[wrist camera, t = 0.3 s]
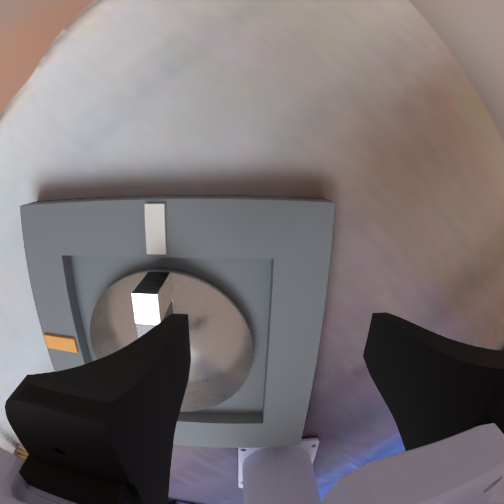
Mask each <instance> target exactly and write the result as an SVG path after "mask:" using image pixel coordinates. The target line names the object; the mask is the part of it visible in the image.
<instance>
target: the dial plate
mask: <svg viewBox="0 0 504 504" xmlns="http://www.w3.org/2000/svg"><path fill="white" fill-rule="evenodd" d="M20 211H21V222H22V231H23V240H24V247H25V254H26V260H27V266H28V272H29V278H30V283H31V288H32V292H33V297H34V301H35V306H36V310H37V314H38V318H39V321H40V325H41V329H42V332H43V336H44V339H45V343H46V346H47V349H48V352H49V355H50V358H51V361H52V364H53V367H54V370H55V372H56V371H61V370H65V369H70V368H74V367H77V366H81V365H84V364H87V363H90V362H92V361H95V360H97V359H96V357H95V354H94V351H93V348H92V345H91V339H90V321H91V316H92V313H93V310H94V308H95V305H96V303H97V302H98V300H99V299H100V297H101V296H102V294H103V293H104V292H105V291H106V290H107V289H108V288H109V287H110V286H111V285H112V284H113V283H114V282H116V281H117V280H119V279H120V278H121V277H123V276H125V275H127V274H129V273H132V272H135V271H138V270H141V269H147V268H158V267H165V268H175V269H180V270H184V271H188V272H191V273H194V274H197V275H199V276H201V277H203V278H205V279H207V280H209V281H211V282H212V283H214V284H215V285H217V286H219V287H220V288H221V289H222V290H223V291H225V292H226V293H227V294H228V295H229V296H230V297H231V298H232V299H233V300H234V301H235V302H236V303H237V305H238V306H239V308H240V309H241V310H242V312H243V314H244V316H245V317H246V319H247V322H248V324H249V327H250V330H251V335H252V340H253V363H252V367H251V371H250V373H249V375H248V378H247V380H246V381H245V383H244V384H243V386H242V387H241V388H240V389H239V390H238V391H237V392H236V393H235V394H234V395H233V396H232V397H230V398H229V399H228V400H226V401H224V402H222V403H221V404H218V405H216V406H214V407H211V408H207V409H204V410H199V411H190V412H180V413H179V416H178V420H177V424H176V429H175V433H174V441H173V445H183V446H197V447H219V448H260V447H282V446H296V445H300V443H301V439H302V434H303V430H304V425H305V420H306V415H307V411H308V406H309V401H310V395H311V390H312V385H313V379H314V374H315V368H316V362H317V356H318V350H319V344H320V337H321V330H322V323H323V316H324V309H325V301H326V293H327V285H328V277H329V267H330V258H331V248H332V237H333V225H334V212H335V203H334V202H332V201H329V200H327V199H320V198H299V197H273V196H230V195H167V196H125V197H100V198H81V199H64V200H50V201H37V202H33V203H29V204H25V205H22V206H20Z"/></svg>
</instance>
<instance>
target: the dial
mask: <svg viewBox="0 0 504 504" xmlns="http://www.w3.org/2000/svg"><path fill="white" fill-rule="evenodd" d="M172 313H174V314H188V321H189V337H190V351H191V364H190V372H189V379H188V383H187V387H186V391H185V395H184V398H183V402H182V405H181V409H180V412H190V411H199V410H204V409H207V408H211V407H214V406H216V405H218V404H221V403H222V402H224V401H226V400H228V399H229V398H230V397H232V396H233V395H234V394H235V393H236V392H237V391H238V390H239V389H240V388H241V387H242V386H243V384H244V383H245V381H246V380H247V378H248V375H249V373H250V371H251V367H252V363H253V340H252V335H251V330H250V327H249V324H248V322H247V319H246V317H245V316H244V314H243V312H242V310H241V309H240V308H239V306H238V305H237V303H236V302H235V301H234V300H233V299H232V298H231V297H230V296H229V295H228V294H227V293H226V292H225V291H223V290H222V289H221V288H220V287H219V286H217V285H215V284H214V283H212V282H211V281H209V280H207V279H205V278H203V277H201V276H199V275H197V274H194V273H191V272H188V271H184V270H180V269H175V268H165V267H158V268H147V269H141V270H138V271H135V272H132V273H129V274H127V275H125V276H123V277H121V278H120V279H119V280H117V281H116V282H114V283H113V284H112V285H111V286H110V287H109V288H108V289H107V290H106V291H105V292H104V293H103V294H102V296H101V297H100V299H99V300H98V302H97V303H96V305H95V308H94V310H93V313H92V316H91V321H90V339H91V345H92V348H93V351H94V354H95V357H96V359H97V360H98V359H100V358H103V357H105V356H108V355H110V354H112V353H114V352H116V351H118V350H120V349H122V348H123V347H125V346H127V345H129V344H130V343H132V342H133V341H135V340H136V339H138V338H139V337H141V336H142V335H144V334H145V333H147V332H148V331H149V330H151V329H152V328H153V327H155V326H156V325H157V324H159V323H160V322H161V321H162V320H164V319H165V318H166V317H168V316H169V315H171V314H172Z"/></svg>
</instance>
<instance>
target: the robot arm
mask: <svg viewBox="0 0 504 504" xmlns="http://www.w3.org/2000/svg"><path fill="white" fill-rule="evenodd" d="M363 357H364V359H365V362H366V365H367V368H368V370H369V373H370V375H371V377H372V379H373V381H374V383H375V385H376V386H377V388H378V390H379V392H380V393H381V395H382V397H383V399H384V401H385V402H386V404H387V406H388V408H389V409H390V411H391V413H392V415H393V417H394V419H395V422H396V424H397V427H398V430H399V432H400V435H401V438H402V441H403V444H404V447H405V450H406V451H405V452H401V453H397V454H393V455H389V456H387V457H384V458H381V459H379V460H376V461H373V462H370V463H367V464H364V465H363V466H361V467H359V468H358V469H356V470H354V471H352V472H351V473H349V474H347V475H345V476H344V477H342V478H341V479H340V480H339V481H338V482H337V483H336V484H335V485H334V486H333V487H332V488H331V489H330V490H329V491H328V493H327V494H326V495H325V496H324V498H323V500H322V502H321V499H320V495H319V491H318V486H317V482H316V478H315V474H314V470H313V466H312V465H313V462H314V459H315V455H316V452H317V449H318V445H319V439H318V438H307V439H301V443H300V445H296V446H282V447H260V448H238V486H239V487H240V488H243V499H244V504H504V351H498V350H491V349H486V348H480V347H475V346H471V345H467V344H464V343H461V342H457V341H454V340H451V339H448V338H446V337H443V336H441V335H438V334H436V333H433V332H431V331H429V330H426V329H424V328H422V327H420V326H418V325H415V324H413V323H411V322H409V321H407V320H404V319H402V318H400V317H397V316H395V315H392V314H389V313H373V314H372V319H371V324H370V329H369V333H368V338H367V342H366V346H365V350H364V354H363ZM190 364H191V351H190V337H189V321H188V314H174V313H172V314H171V315H169V316H168V317H166V318H165V319H164V320H162V321H161V322H160V323H159V324H157V325H156V326H155V327H153V328H152V329H151V330H149V331H148V332H147V333H145V334H144V335H142V336H141V337H139V338H138V339H136V340H135V341H133V342H132V343H130V344H129V345H127V346H125V347H123V348H122V349H120V350H118V351H116V352H114V353H112V354H110V355H108V356H105V357H103V358H100V359H98V360H95V361H92V362H90V363H87V364H84V365H81V366H77V367H74V368H70V369H65V370H61V371H56V372H50V373H42V374H34V375H27V376H26V377H25V378H24V380H23V381H22V382H21V383H20V385H19V386H18V387H17V388H16V390H15V391H14V392H13V393H12V395H11V396H10V397H9V398H8V400H7V401H6V405H5V410H6V415H7V418H8V421H9V423H10V425H11V427H12V429H13V430H14V432H15V434H16V435H17V437H18V438H19V440H20V442H21V443H22V445H23V446H24V448H25V449H26V451H27V452H28V454H29V455H28V457H27V458H26V460H25V462H24V461H23V460H22V459H21V458H19V457H18V456H16V455H15V454H13V453H11V452H9V451H7V450H5V449H2V448H0V504H168V492H169V478H170V467H171V457H172V449H173V441H174V433H175V429H176V424H177V420H178V416H179V413H180V409H181V405H182V402H183V398H184V395H185V391H186V387H187V383H188V379H189V372H190Z"/></svg>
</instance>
